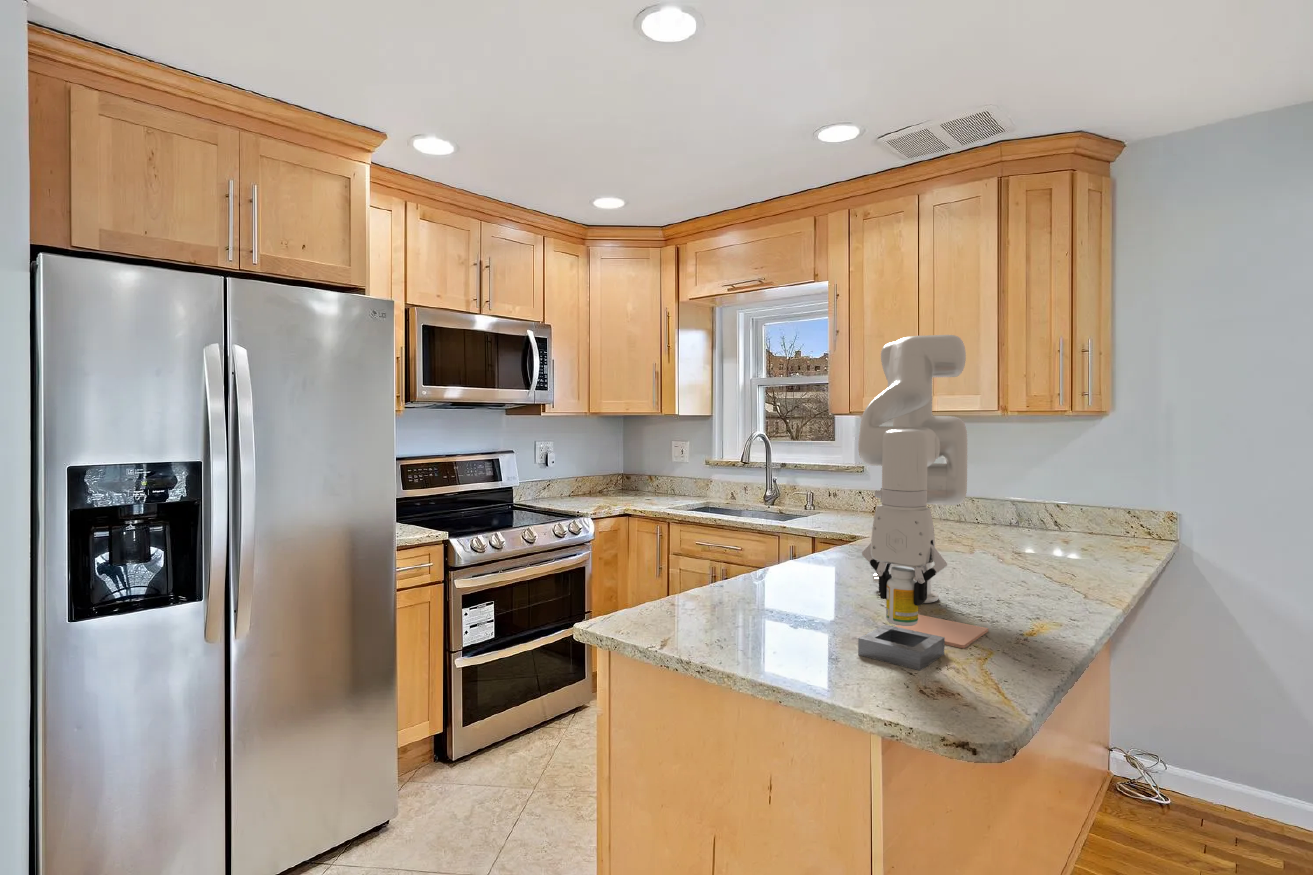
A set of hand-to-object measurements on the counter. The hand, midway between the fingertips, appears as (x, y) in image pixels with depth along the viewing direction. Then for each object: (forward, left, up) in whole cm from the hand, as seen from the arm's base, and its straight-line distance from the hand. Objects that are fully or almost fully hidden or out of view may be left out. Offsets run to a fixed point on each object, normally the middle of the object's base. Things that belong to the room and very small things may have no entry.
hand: (902, 599), depth 122 cm
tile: (0, +17, -10) cm, 20 cm away
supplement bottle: (0, 0, -4) cm, 4 cm away
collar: (0, -1, -10) cm, 10 cm away
